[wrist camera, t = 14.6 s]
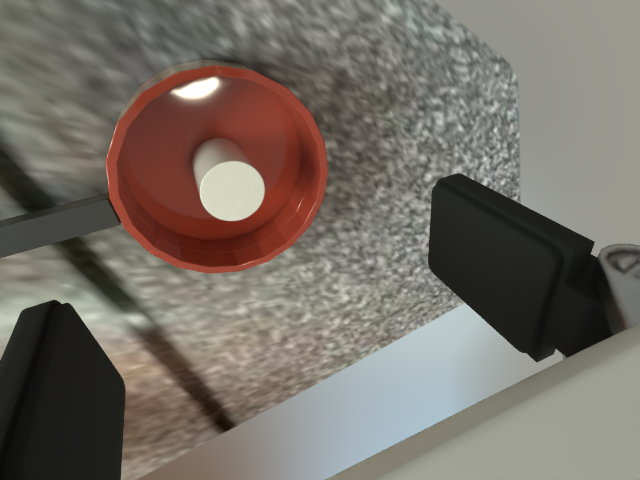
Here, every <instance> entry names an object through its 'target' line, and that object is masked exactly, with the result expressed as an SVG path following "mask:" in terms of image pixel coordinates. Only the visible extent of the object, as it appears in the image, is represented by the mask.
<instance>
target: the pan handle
mask: <svg viewBox="0 0 640 480" xmlns="http://www.w3.org/2000/svg"><path fill="white" fill-rule="evenodd" d="M120 223H121V220H120V218H119V216H118V214H117V212H116V210H115V208H114V206H113V204H112V202H111V200H110V197H109V193H106V194H103V195H99V196H95V197H91V198H87V199H83V200H79V201H75V202H71V203H67V204H63V205H60V206H56V207H52V208H48V209H44V210H40V211H36V212H32V213H28V214H24V215H21V216H17V217H13V218H9V219H5V220H1V221H0V258H2V257H6V256H9V255H13V254H16V253H20V252H24V251H27V250H31V249H34V248H38V247H42V246H45V245H49V244H52V243H56V242H60V241H63V240H67V239H70V238H74V237H78V236H81V235H85V234H88V233H92V232H96V231H99V230H103V229H106V228H110V227H114V226H117V225H120Z"/></svg>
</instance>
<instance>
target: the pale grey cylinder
mask: <svg viewBox="0 0 640 480" xmlns="http://www.w3.org/2000/svg"><path fill="white" fill-rule="evenodd" d="M192 170H193V174H194V177H195V181H196V184H197V188H198V191H199V195H200V198H201V202H202V204H203V206H204V207H205V209H206V210H207V211H208V212H209V213H210V214H211V215H213V216H214V217H216V218H218V219H221V220H225V221H237V220H242V219H244V218H247V217H249V216H250V215H252V214H253V213H254V212H255V211H256V210H257V209H258V208H259V206H260V205H261V203H262V201H263V198H264V194H265V186H264V182H263V179H262V177H261V175H260V173H259V172H258V171H257V169H256V168H255V166H254V165H253V164H252V162H251V161H250V159H249V158H248V157H247V155H246V154H245V152H244V151H243V150H242V148H241V147H240V146H239V145H238V144H236V143H235V142H233V141H231V140H228V139H225V138H214V139H210V140H208V141H205V142H204V143H202V144H201V145H200V146H199V147H198V148H197V149H196V151H195V153H194V155H193V158H192Z"/></svg>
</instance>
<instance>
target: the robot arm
mask: <svg viewBox="0 0 640 480" xmlns="http://www.w3.org/2000/svg"><path fill="white" fill-rule="evenodd" d="M593 245H594V241H592V240H590V239H588V238H586V237H584V236H582V235H580V234H578V233H576V232H574V231H572V230H570V229H568V228H566V227H564V226H562V225H560V224H558V223H556V222H554V221H552V220H551V219H548V218H547V217H545V216H543V215H540V214H539V213H537V212H535V211H533V210H530V209H529V208H527V207H525V206H523V205H521V204H519V203H517V202H515V201H513V200H511V199H509V198H508V197H506V196H504V195H502V194H500V193H498V192H496V191H494V190H492V189H490V188H488V187H486V186H484V185H482V184H480V183H478V182H476V181H474V180H472V179H470V178H468V177H466V176H464V175H463V174H459V173H458V174H454V175H450V176H447V177H444V178H441V179H439V180H438V181H437V183H436V186H434V187H433V190H432V202H431V220H430V238H429V255H428V264H429V267H430V270H431V271H432V272H433V274H434V275H436V276H437V277H438V278H439V279H440V280H441V281H442V282H443V283H444V284H445V285H447V286H448V287H449V288H450V289H451V290H452V291H453V292H454V293H455V294H456V295H458V296H459V297H460V298H461V299H462V300H463V301H464V302H465V303H466V304H467V305H469V306H470V307H471V308H472V309H473V310H474V311H475V312H476V313H478V314H479V315H480V316H481V317H482V318H483V319H484V320H485V321H486V322H487V323H488V324H489V325H491V326H492V327H493V328H494V329H495V330H496V331H497V332H498V333H499V334H500V335H502V336H503V337H504V338H505V339H506V340H507V341H508V342H509V343H510V344H511V345H513V346H514V347H515V348H516V349H517V350H518V351H520V352H522V353H527V354H528V355H529V356H530V357H531V358H532V359H534V360H535V361H536V362H539V361H541V360H543V359H545V358H547V357H549V356H551V355H553V354H554V352H555V349H557V350H558V351H560V352H561V353H562V354H563V359H564V360H562V361H560V362H558V363H556V364H554V365H552V366H550V367H548V368H546V369H544V370H542V371H540V372H538V373H536V374H534V375H532V376H530V377H528V378H526V379H524V380H522V381H520V382H518V383H516V384H514V385H512V386H510V387H508V388H506V389H504V390H502V391H500V392H498V393H496V394H494V395H492V396H490V397H488V398H486V399H484V400H482V401H480V402H478V403H476V404H475V405H472V406H470V407H468V408H466V409H464V410H462V411H460V412H458V413H456V414H454V415H452V416H450V417H448V418H447V419H444V420H443V421H440V422H438V423H436V424H434V425H433V426H431V427H429V428H427V429H425V430H423V431H421V432H419V433H417V434H415V435H413V436H411V437H409V438H407V439H405V440H403V441H401V442H399V443H397V444H395V445H393V446H391V447H389V448H387V449H385V450H383V451H381V452H379V453H377V454H375V455H373V456H371V457H369V458H367V459H366V460H363V461H362V462H360V463H358V464H356V465H354V466H352V467H350V468H348V469H346V470H344V471H342V472H340V473H338V474H336V475H334V476H332V477H330V478H328V479H326V480H640V245H634V244H614V245H610V246H607V247H605V248H603V249H602V250H601V251H600V253H599V255H598V257H595V256H593V255H591V251H592V248H593ZM124 410H125V385H124V381H123V379H122V377H121V375H120V374H119V372H118V371H117V370H116V368H115V367H114V365H113V364H112V362H111V361H110V360H109V358H108V357H107V355H106V354H105V352H104V351H103V350H102V348H101V347H100V345H99V344H98V342H97V341H96V340H95V338H94V337H93V335H92V334H91V332H90V331H89V329H88V328H87V327H86V325H85V324H84V322H83V321H82V319H81V318H80V317H79V315H78V314H77V312H76V311H75V309H74V308H73V307H72V306H71V305H70V304H69V303H64V304H61V303H60V302H58V301H57V300H52V301H49V302H45V303H42V304H39V305H36V306H33V307H29V308H26V309H24V310H23V311H22V312H21V313H20V316H19V318H18V321H17V323H16V325H15V328H14V330H13V332H12V335H11V337H10V339H9V342H8V344H7V347H6V349H5V351H4V354H3V356H2V358H1V361H0V480H121V462H122V445H123V428H124Z"/></svg>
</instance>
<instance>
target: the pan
mask: <svg viewBox="0 0 640 480" xmlns="http://www.w3.org/2000/svg"><path fill="white" fill-rule="evenodd" d="M214 138H225V139H228V140H231V141H233V142H235V143H236V144H238V145H239V146H240V147H241V148H242V150H243V151H244V152H245V154H246V155H247V157H248V158H249V159H250V161H251V162H252V164H253V165H254V166H255V168H256V169H257V171H258V172H259V173H260V175H261V177H262V179H263V182H264V186H265V194H264V198H263V201H262V203H261V205H260V206H259V208H258V209H257V210H256V211H255V212H254V213H253V214H252V215H250V216H249V217H247V218H244V219H242V220H237V221H225V220H221V219H218V218H216V217H214V216H213V215H211V214H210V213H209V212H208V211H207V210H206V209H205V207H204V206H203V204H202V202H201V198H200V195H199V191H198V188H197V184H196V181H195V177H194V174H193V170H192V158H193V155H194V153H195V151H196V149H197V148H198V147H199V146H200V145H201V144H202V143H204V142H205V141H208V140H210V139H214ZM106 170H107V180H108V190H109V197H110V200H111V202H112V204H113V206H114V208H115V210H116V212H117V214H118V216H119V218H120V220H121V222H122V224H123V226H124V228H125V229H126V230H127V231H128V232H129V233H130V234H131V235H132V236H133V237H134V238H135V239H136V240H137V241H138V242H139V243H140V244H141V245H142V246H143V247H144V248H145V249H146V250H147V251H148V252H149V253H151V254H153V255H155V256H157V257H159V258H161V259H163V260H165V261H167V262H168V263H170V264H172V265H174V266H176V267H179V268H184V269H189V270H194V271H199V272H204V273H223V272H238V271H242V270H245V269H248V268H251V267H254V266H257V265H260V264H263V263H266V262H268V261H270V260H271V259H273V258H274V257H276V256H277V255H279V254H280V253H282V252H284V251H285V250H287V249H288V248H290V247H291V246H292V245H293V244H294V243H295V242H296V241H297V240H298V238H299V237H300V236H301V235H302V234H303V233H304V232H305V231H306V230H307V229H308V227H309V226H310V225H311V223H312V221H313V219H314V217H315V215H316V213H317V211H318V209H319V207H320V205H321V203H322V201H323V198H324V193H325V187H326V182H327V176H328V165H327V157H326V149H325V142H324V139H323V137H322V135H321V133H320V131H319V129H318V127H317V124H316V122H315V120H314V118H313V116H312V114H311V112H310V111H309V110H308V109H307V108H306V107H305V106H304V105H303V104H302V103H301V102H300V101H299V99H298V98H297V97H296V96H295V95H294V94H293V93H292V92H291V91H290V90H289V89H288V88H287V87H285V86H283V85H281V84H279V83H277V82H275V81H273V80H272V79H270V78H268V77H266V76H264V75H262V74H260V73H258V72H256V71H254V70H252V69H250V68H248V67H246V66H244V65H241V64H237V63H231V62H225V61H219V60H211V59H204V60H197V61H189V62H185V63H181V64H176V65H173V66H170V67H168V68H167V69H165V70H162V71H161V72H159V73H157V74H156V75H154V76H153V77H151V78H150V79H148V80H147V81H145V82H143V83H142V84H141V85H140V87H139V88H138V89H137V90H136V92H135V93H134V94H133V95H132V96H131V97H130V99H129V100H128V102H127V103H126V105H125V106H124V107H123V108H122V110H121V112H120V115H119V118H118V121H117V124H116V127H115V131H114V134H113V137H112V141H111V144H110V148H109V151H108V155H107V158H106Z"/></svg>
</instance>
